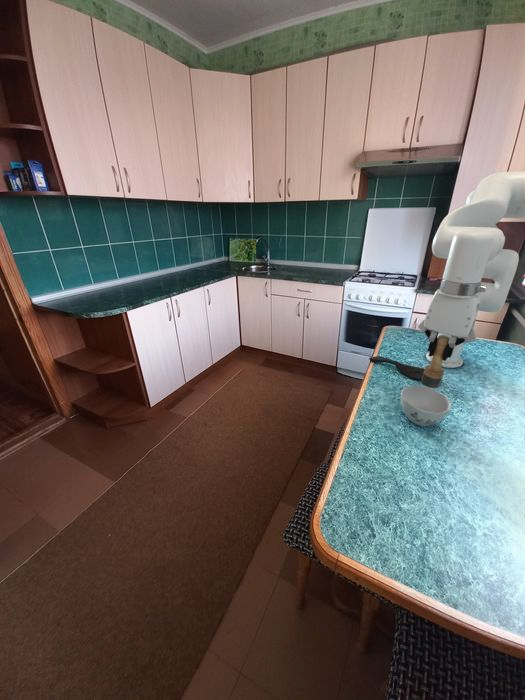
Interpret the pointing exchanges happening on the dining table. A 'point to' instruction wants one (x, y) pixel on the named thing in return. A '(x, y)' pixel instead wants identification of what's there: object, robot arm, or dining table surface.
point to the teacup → (424, 405)
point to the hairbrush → (403, 368)
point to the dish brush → (435, 364)
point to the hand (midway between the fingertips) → (438, 356)
